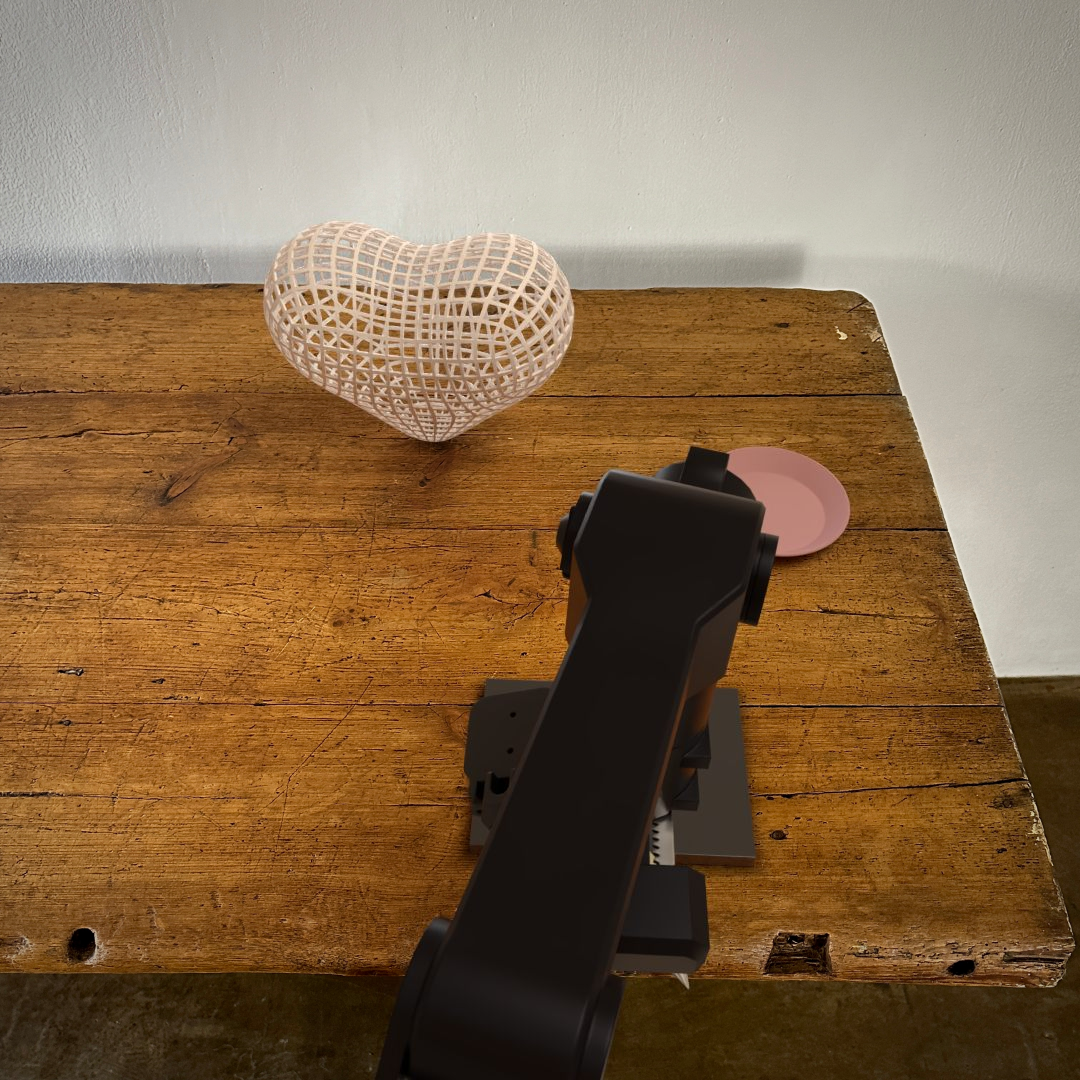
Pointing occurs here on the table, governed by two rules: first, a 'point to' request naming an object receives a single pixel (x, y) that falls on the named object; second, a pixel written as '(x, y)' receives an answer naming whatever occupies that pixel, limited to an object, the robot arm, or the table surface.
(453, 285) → the heart
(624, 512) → the robot arm
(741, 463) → the plate
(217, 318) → the table surface
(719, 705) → the serving board
